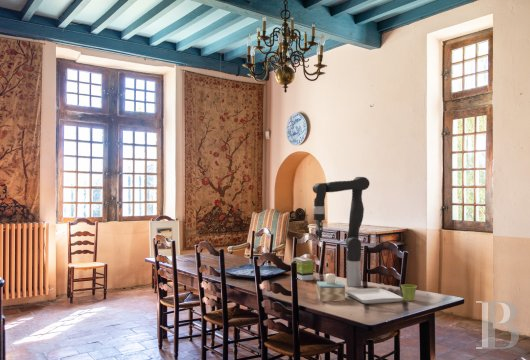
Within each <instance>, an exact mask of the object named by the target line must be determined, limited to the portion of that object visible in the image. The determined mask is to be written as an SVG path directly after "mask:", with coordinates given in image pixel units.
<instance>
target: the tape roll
mask: <svg viewBox="0 0 530 360" xmlns="http://www.w3.org/2000/svg"><path fill="white" fill-rule="evenodd" d="M335 281H336V274H335V273H325V282H326V284H335Z"/></svg>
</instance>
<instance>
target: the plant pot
mask: <svg viewBox="0 0 530 360" xmlns="http://www.w3.org/2000/svg"><path fill="white" fill-rule="evenodd" d="M400 287H401V290H402V297H403V298H404V299H403V300H402V301H405V302H414V301H415V297H416V290H417V288H418V285H415V284H405V283H404V284H400Z"/></svg>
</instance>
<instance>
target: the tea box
mask: <svg viewBox="0 0 530 360" xmlns="http://www.w3.org/2000/svg"><path fill="white" fill-rule="evenodd" d="M293 261H296V262H297V278H298V279H297V278H296V279H297V280H301V281H302V282H303V281H312V280H313V281H314V259H311V258H307V257H306V256H301V257H300V256H299V257H292V262H293Z"/></svg>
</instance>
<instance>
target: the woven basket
mask: <svg viewBox="0 0 530 360" xmlns="http://www.w3.org/2000/svg"><path fill="white" fill-rule="evenodd" d="M345 290H346V286H345V287H319V285H318V284H317V283H316V297H317V299H318V301H319V303H321V302H328V303H330V302H331V301H340V302H346V293H345Z"/></svg>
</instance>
